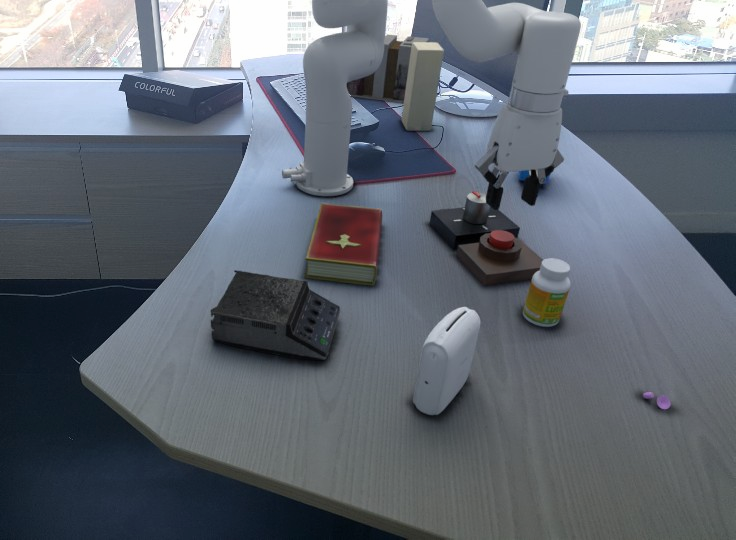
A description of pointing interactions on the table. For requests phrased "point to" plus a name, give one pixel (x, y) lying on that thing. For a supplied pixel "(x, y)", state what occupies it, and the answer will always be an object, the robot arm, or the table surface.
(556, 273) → the supplement bottle
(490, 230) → the control panel
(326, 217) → the hardcover book
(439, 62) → the toy refrigerator
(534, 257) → the button block
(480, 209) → the timer knob
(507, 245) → the button
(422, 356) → the photo printer
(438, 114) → the table surface
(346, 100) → the robot arm
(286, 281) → the electronic device
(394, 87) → the bookend
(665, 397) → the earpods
